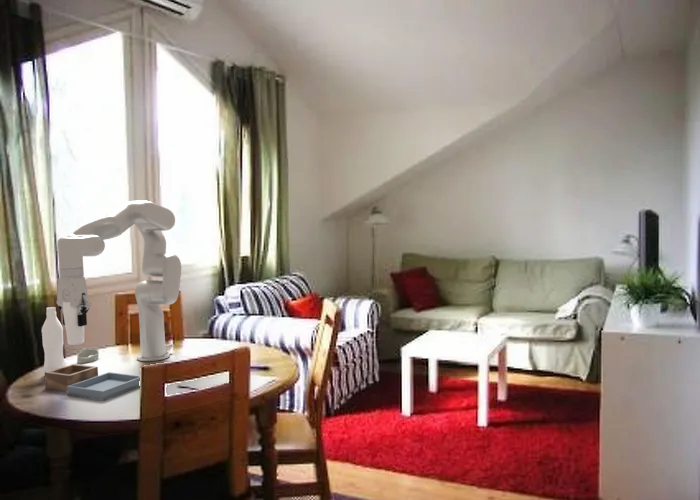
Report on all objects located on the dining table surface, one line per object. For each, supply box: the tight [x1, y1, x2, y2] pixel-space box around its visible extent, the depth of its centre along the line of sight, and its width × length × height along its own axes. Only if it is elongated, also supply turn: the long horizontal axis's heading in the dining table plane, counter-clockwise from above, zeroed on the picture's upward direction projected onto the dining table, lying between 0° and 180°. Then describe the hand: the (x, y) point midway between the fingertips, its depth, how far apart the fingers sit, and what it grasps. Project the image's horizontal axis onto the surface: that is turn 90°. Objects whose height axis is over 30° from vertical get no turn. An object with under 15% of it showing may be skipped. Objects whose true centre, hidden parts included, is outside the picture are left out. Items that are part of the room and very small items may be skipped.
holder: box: [44, 363, 99, 392], centre depth 214 cm, size 12×12×6 cm
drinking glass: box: [62, 302, 85, 346], centre depth 211 cm, size 7×7×15 cm
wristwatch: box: [77, 347, 100, 364], centre depth 248 cm, size 9×6×5 cm
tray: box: [66, 371, 141, 401], centre depth 207 cm, size 18×16×3 cm
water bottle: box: [41, 306, 66, 373], centre depth 228 cm, size 7×7×25 cm
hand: (75, 324), depth 211 cm, fingers closed on drinking glass, 6 cm apart
